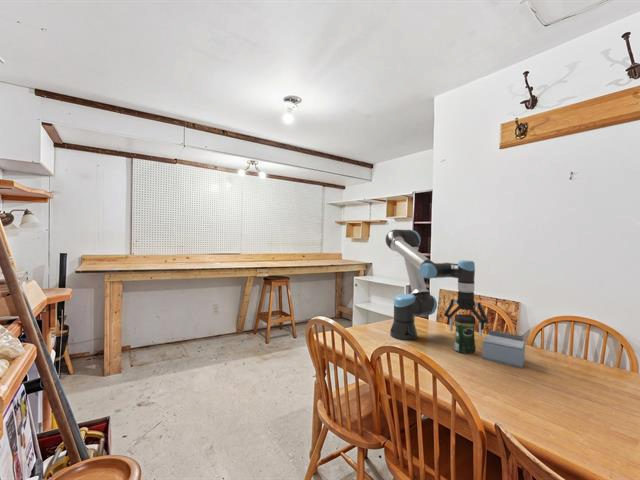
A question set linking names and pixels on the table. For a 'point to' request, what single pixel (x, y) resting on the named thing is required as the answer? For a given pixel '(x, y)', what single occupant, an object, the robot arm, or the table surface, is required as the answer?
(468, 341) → the coffee jar
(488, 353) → the box
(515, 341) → the lid
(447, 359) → the table surface
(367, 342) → the table surface
